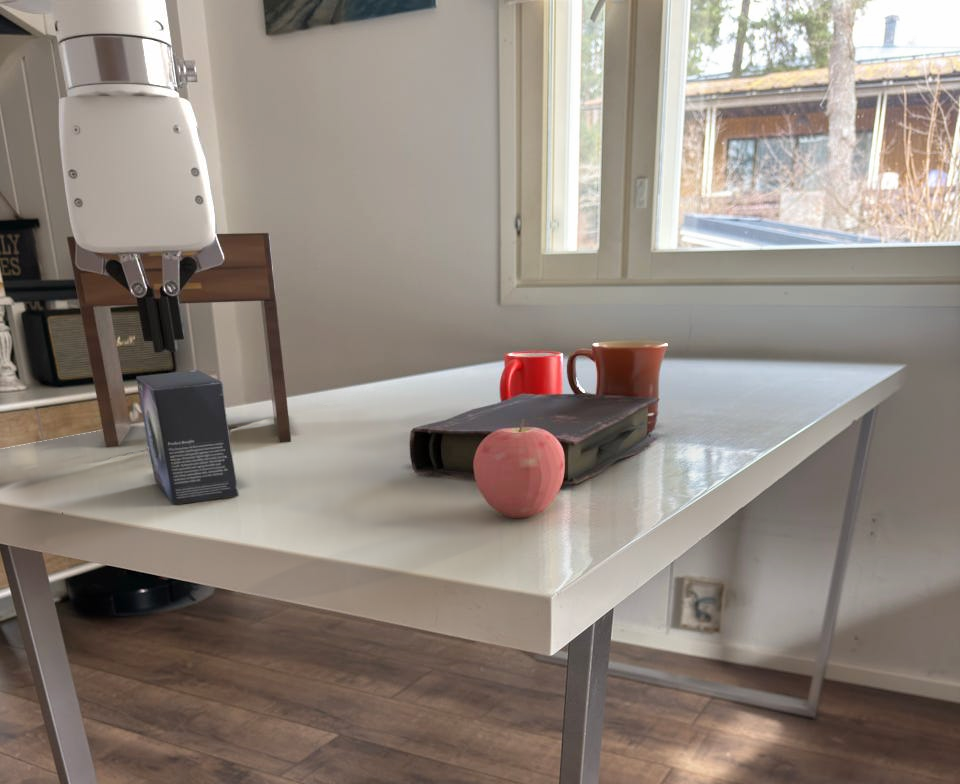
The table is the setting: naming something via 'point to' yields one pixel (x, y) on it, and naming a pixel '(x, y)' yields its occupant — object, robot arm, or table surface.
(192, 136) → the robot arm
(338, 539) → the table surface
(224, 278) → the brown wooden stand
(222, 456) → the small box
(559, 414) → the diary
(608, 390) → the mug
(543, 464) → the apple
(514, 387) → the mug
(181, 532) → the table surface
